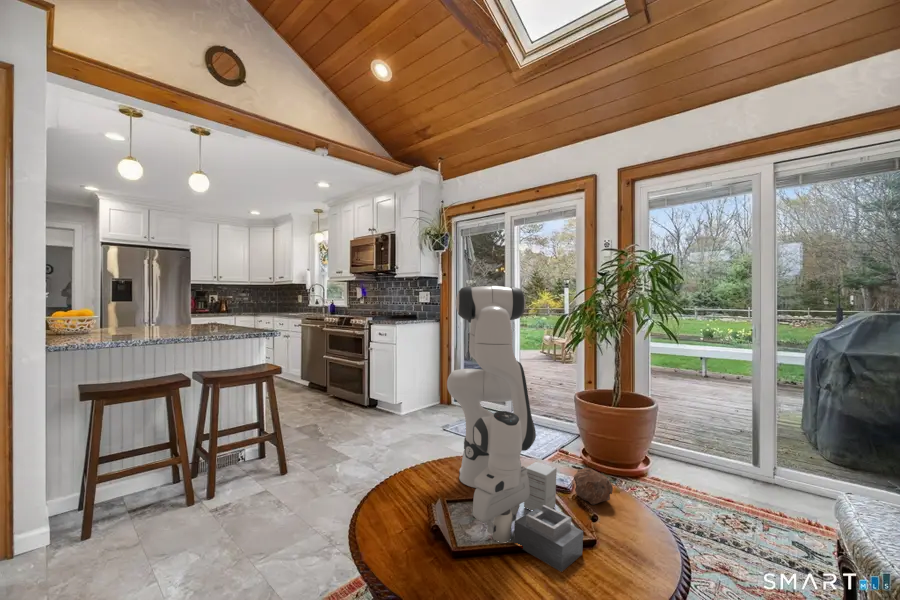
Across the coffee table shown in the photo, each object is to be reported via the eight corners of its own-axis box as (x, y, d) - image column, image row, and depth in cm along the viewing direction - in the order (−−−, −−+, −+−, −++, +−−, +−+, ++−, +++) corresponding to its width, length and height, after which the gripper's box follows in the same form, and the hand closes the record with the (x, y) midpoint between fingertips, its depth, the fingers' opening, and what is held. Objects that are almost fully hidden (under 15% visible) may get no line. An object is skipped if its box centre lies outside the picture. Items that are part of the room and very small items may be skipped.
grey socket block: (541, 526, 112) (542, 496, 113) (587, 549, 102) (589, 517, 102) (513, 544, 104) (514, 511, 104) (561, 572, 93) (562, 536, 93)
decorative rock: (618, 511, 123) (619, 478, 123) (582, 510, 122) (584, 478, 122) (599, 490, 136) (600, 461, 136) (567, 490, 135) (568, 461, 135)
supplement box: (534, 499, 128) (535, 460, 128) (555, 508, 123) (557, 467, 123) (522, 508, 122) (524, 467, 122) (545, 517, 117) (546, 474, 117)
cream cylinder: (500, 529, 110) (501, 501, 110) (514, 538, 106) (516, 508, 106) (488, 536, 106) (489, 507, 107) (503, 545, 103) (504, 515, 103)
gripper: (517, 461, 116) (515, 508, 116) (469, 480, 102) (467, 534, 102) (536, 468, 111) (534, 517, 111) (488, 490, 97) (486, 546, 97)
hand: (502, 525), depth 106 cm, fingers open, 7 cm apart
